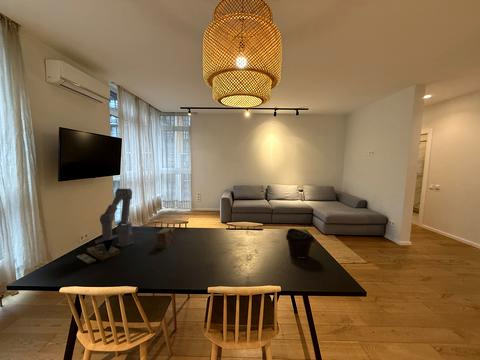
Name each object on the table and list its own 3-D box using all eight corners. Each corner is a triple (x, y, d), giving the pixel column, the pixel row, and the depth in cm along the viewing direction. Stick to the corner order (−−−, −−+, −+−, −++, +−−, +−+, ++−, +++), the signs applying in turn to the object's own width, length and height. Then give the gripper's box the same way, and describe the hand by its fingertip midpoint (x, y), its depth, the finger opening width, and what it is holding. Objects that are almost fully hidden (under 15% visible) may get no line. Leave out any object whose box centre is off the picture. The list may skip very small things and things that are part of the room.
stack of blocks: (168, 238, 182) (168, 224, 181) (175, 238, 182) (175, 224, 181) (157, 248, 161) (157, 232, 160) (165, 249, 160) (165, 233, 159)
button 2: (104, 247, 153) (104, 243, 153) (108, 249, 151) (107, 245, 151) (98, 249, 150) (98, 245, 149) (101, 251, 147) (101, 247, 147)
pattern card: (84, 254, 148) (84, 253, 148) (96, 260, 139) (96, 260, 139) (76, 256, 144) (76, 256, 144) (87, 263, 135) (87, 263, 135)
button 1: (100, 248, 157) (100, 244, 157) (103, 249, 155) (103, 245, 154) (93, 250, 153) (93, 246, 153) (96, 251, 151) (96, 247, 151)
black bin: (315, 262, 144) (316, 236, 143) (285, 259, 148) (286, 234, 147) (312, 252, 161) (313, 228, 160) (285, 249, 165) (286, 226, 164)
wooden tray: (105, 247, 161) (105, 243, 161) (119, 253, 150) (119, 249, 150) (87, 252, 151) (87, 248, 151) (101, 260, 140) (100, 255, 140)
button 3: (109, 252, 150) (109, 248, 150) (112, 254, 148) (112, 250, 147) (102, 254, 146) (102, 250, 146) (106, 256, 144) (106, 252, 144)
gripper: (98, 235, 137) (99, 255, 138) (121, 229, 150) (121, 248, 151) (93, 233, 141) (93, 252, 142) (115, 227, 153) (116, 246, 154)
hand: (107, 250), depth 147 cm, fingers closed, pressing on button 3
